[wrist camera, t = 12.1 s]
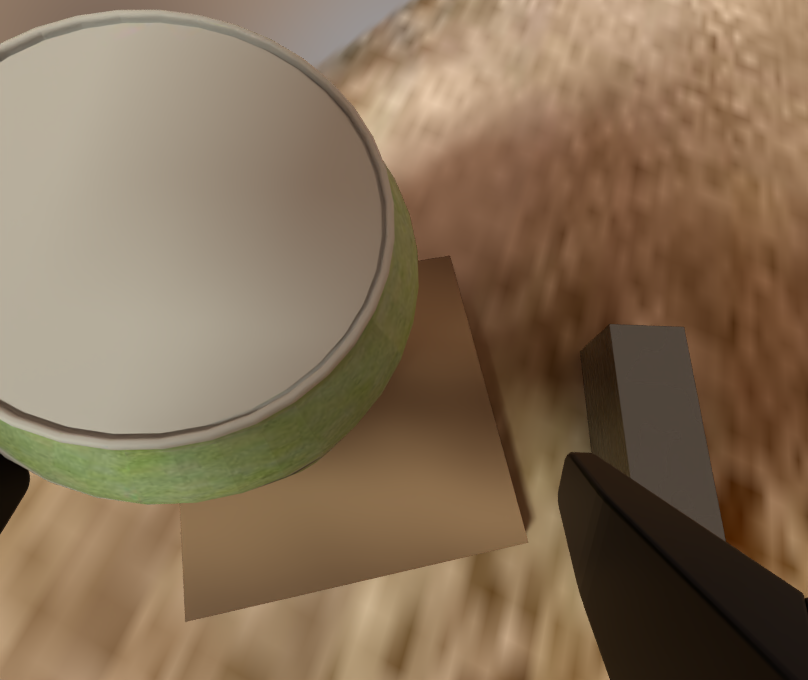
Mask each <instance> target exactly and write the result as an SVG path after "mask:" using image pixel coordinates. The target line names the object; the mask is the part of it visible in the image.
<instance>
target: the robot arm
mask: <svg viewBox="0 0 808 680" xmlns="http://www.w3.org/2000/svg"><path fill="white" fill-rule="evenodd" d="M29 482H30V474H29V470H27V469H25V468H23V467H22V466H20V465H18V464H16V463H14V462H13V461H11V460H9V459H7V458H5V457H4V456H3V455H2V454H1V453H0V534H1V532H2V531H3V529H4V527H5V526H6V524H7V523H8V521H9V519H10V518H11V516H12V514H13V513H14V511H15V510H16V508H17V506H18V505H19V503H20V501H21V500H22V498H23V496H24V495H25V493H26V491H27V489H28V487H29ZM558 505H559V510H560V514H561V518H562V522H563V527H564V531H565V535H566V539H567V543H568V548H569V552H570V556H571V560H572V565H573V569H574V573H575V577H576V581H577V585H578V589H579V593H580V596H581V599H582V602H583V605H584V608H585V611H586V614H587V616H588V619H589V622H590V625H591V628H592V630H593V633H594V636H595V639H596V642H597V645H598V647H599V650H600V653H601V656H602V659H603V661H604V664H605V667H606V670H607V673H608V675H609V678H610V680H808V598H804V595H803V593H802V592H800V591H799V590H797V589H796V588H794V587H793V586H791V585H790V584H788V583H787V582H785V581H784V580H782V579H781V578H779V577H778V576H776V575H775V574H773V573H772V572H770V571H769V570H767V569H766V568H764V567H763V566H761V565H760V564H758V563H757V562H755V561H754V560H752V559H751V558H749V557H748V556H746V555H745V554H743V553H742V552H740V551H739V550H737V549H736V548H734V547H733V546H731V545H730V544H728V543H727V542H725V541H724V540H722V539H721V538H719V537H718V536H716V535H715V534H713V533H712V532H710V531H709V530H707V529H706V528H705V527H703V526H702V525H700V524H699V523H697V522H696V521H694V520H693V519H691V518H690V517H688V516H687V515H685V514H684V513H682V512H681V511H679V510H678V509H676V508H675V507H673V506H672V505H670V504H669V503H667V502H666V501H664V500H663V499H661V498H660V497H658V496H657V495H655V494H654V493H652V492H651V491H649V490H648V489H646V488H645V487H643V486H642V485H640V484H639V483H637V482H636V481H634V480H633V479H631V478H630V477H628V476H627V475H625V474H624V473H622V472H621V471H619V470H618V469H616V468H615V467H613V466H612V465H610V464H609V463H607V462H606V461H604V460H603V459H601V458H600V457H598V456H597V455H595V454H593V453H580V452H571V453H569V454H568V455H567V456H566V458H565V462H564V467H563V471H562V476H561V481H560V486H559V491H558Z"/></svg>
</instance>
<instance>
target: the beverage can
mask: <svg viewBox="0 0 808 680" xmlns="http://www.w3.org/2000/svg"><path fill="white" fill-rule="evenodd" d="M418 288H419V284H418V255H417V247H416V242H415V237H414V233H413V228H412V224H411V219H410V215H409V212H408V210H407V207H406V205H405V202H404V200H403V197H402V195H401V193H400V190H399V188H398V185H397V183H396V181H395V179H394V177H393V175H392V174H391V172H390V171H389V169H388V168H387V166H386V164H385V163H384V161H383V160H382V157H381V155H380V152H379V150H378V148H377V145H376V143H375V140H374V138H373V136H372V134H371V133H370V131H369V130H368V128H367V126H366V125H365V123H364V122H363V120H362V119H361V117H360V115H359V114H358V112H357V111H356V109H355V108H354V106H353V105H352V104H351V103H350V102H349V101H348V100H347V99H346V98H345V96H344V95H343V94H342V93H341V92H340V91H339V90H338V89H337V88H336V86H335V85H334V84H333V83H332V82H331V81H330V80H329V79H328V78H326V77H325V76H324V75H323V74H321V73H320V72H319V71H318V70H317V69H315V68H314V67H313V66H312V65H310V64H309V63H308V62H307V61H306V60H304V59H303V58H302V57H300V56H298V55H296V54H295V53H293V52H291V51H290V50H288V49H286V48H284V47H283V46H281V45H280V44H278V43H276V42H275V41H273V40H271V39H269V38H267V37H264V36H262V35H259V34H257V33H255V32H252V31H250V30H247V29H245V28H242V27H240V26H238V25H235V24H231V23H228V22H224V21H220V20H216V19H212V18H208V17H205V16H201V15H196V14H188V13H180V12H172V11H165V10H115V11H108V12H101V13H94V14H86V15H79V16H75V17H71V18H68V19H64V20H61V21H57V22H54V23H50V24H47V25H43V26H39V27H36V28H34V29H32V30H29V31H27V32H25V33H23V34H21V35H18V36H16V37H14V38H12V39H9V40H7V41H5V42H3V43H0V453H1V454H2V455H3V456H4V457H5V458H7V459H9V460H11V461H13V462H14V463H16V464H18V465H20V466H22V467H23V468H25V469H27V470H29V471H31V472H32V473H34V474H36V475H38V476H40V477H41V478H43V479H45V480H47V481H49V482H51V483H54V484H57V485H60V486H63V487H66V488H69V489H72V490H76V491H79V492H82V493H85V494H88V495H91V496H94V497H97V498H104V499H111V500H118V501H126V502H133V503H140V504H175V503H197V502H202V501H207V500H212V499H216V498H221V497H226V496H231V495H236V494H240V493H244V492H247V491H250V490H253V489H256V488H258V487H261V486H264V485H267V484H270V483H273V482H276V481H279V480H281V479H284V478H287V477H289V476H292V475H294V474H297V473H299V472H301V471H303V470H305V469H306V468H308V467H310V466H311V465H313V464H315V463H316V462H317V461H319V460H320V459H321V458H322V457H323V456H324V455H326V454H327V453H328V452H329V451H330V450H331V449H332V448H333V447H334V446H335V445H336V444H337V443H338V442H339V441H340V440H342V439H343V438H344V437H345V436H346V435H347V434H348V433H349V432H350V431H351V430H352V429H353V428H354V427H355V426H356V425H357V424H358V422H359V421H360V420H361V419H362V417H363V416H364V415H365V414H366V413H367V411H368V410H369V409H370V408H371V407H372V405H373V404H374V403H375V402H376V400H377V399H378V398H379V397H380V396H381V394H382V393H383V391H384V389H385V387H386V385H387V384H388V382H389V380H390V378H391V377H392V375H393V373H394V371H395V369H396V368H397V366H398V364H399V362H400V360H401V358H402V355H403V352H404V349H405V346H406V343H407V340H408V337H409V334H410V331H411V328H412V326H413V321H414V315H415V308H416V301H417V295H418Z"/></svg>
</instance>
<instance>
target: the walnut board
mask: <svg viewBox="0 0 808 680" xmlns="http://www.w3.org/2000/svg"><path fill="white" fill-rule="evenodd" d="M418 284H419V288H418V295H417V301H416V308H415V315H414V321H413V326H412V328H411V331H410V334H409V337H408V340H407V343H406V346H405V349H404V352H403V355H402V358H401V360H400V362H399V364H398V366H397V368H396V369H395V371H394V373H393V375H392V377H391V378H390V380H389V382H388V384H387V385H386V387H385V389H384V391H383V393H382V394H381V396H380V397H379V398H378V399H377V400H376V402H375V403H374V404H373V405H372V407H371V408H370V409H369V410H368V411H367V413H366V414H365V415H364V416H363V417H362V419H361V420H360V421H359V422H358V424H357V425H356V426H355V427H354V428H353V429H352V430H351V431H350V432H349V433H348V434H347V435H346V436H345V437H344V438H343V439H342V440H340V441H339V442H338V443H337V444H336V445H335V446H334V447H333V448H332V449H331V450H330V451H329V452H328V453H327V454H326V455H324V456H323V457H322V458H321V459H320V460H319V461H317V462H316V463H315V464H313V465H311V466H310V467H308V468H306V469H305V470H303V471H301V472H299V473H297V474H294V475H292V476H289V477H287V478H284V479H281V480H279V481H276V482H273V483H270V484H267V485H264V486H261V487H258V488H256V489H253V490H250V491H247V492H244V493H240V494H236V495H231V496H226V497H221V498H216V499H212V500H207V501H202V502H197V503H180V521H181V542H182V562H183V583H184V604H185V622H187V621H191V620H196V619H200V618H204V617H209V616H213V615H217V614H222V613H226V612H230V611H235V610H239V609H243V608H247V607H252V606H256V605H260V604H265V603H269V602H273V601H278V600H282V599H286V598H291V597H295V596H299V595H304V594H308V593H312V592H317V591H321V590H325V589H330V588H334V587H338V586H343V585H347V584H351V583H355V582H360V581H364V580H368V579H373V578H377V577H381V576H386V575H390V574H394V573H399V572H403V571H407V570H412V569H416V568H420V567H425V566H429V565H433V564H438V563H442V562H446V561H451V560H455V559H459V558H463V557H468V556H472V555H476V554H481V553H485V552H489V551H494V550H498V549H502V548H507V547H511V546H515V545H520V544H524V543H528V539H527V536H526V532H525V528H524V525H523V521H522V517H521V514H520V510H519V506H518V503H517V499H516V495H515V492H514V488H513V484H512V481H511V477H510V473H509V470H508V466H507V462H506V459H505V455H504V451H503V448H502V444H501V440H500V437H499V433H498V429H497V426H496V422H495V419H494V415H493V411H492V408H491V404H490V400H489V397H488V393H487V389H486V386H485V382H484V378H483V375H482V371H481V367H480V364H479V360H478V356H477V353H476V349H475V345H474V342H473V338H472V334H471V331H470V327H469V323H468V320H467V316H466V312H465V309H464V305H463V302H462V298H461V294H460V291H459V287H458V283H457V280H456V276H455V272H454V269H453V265H452V261H451V258H450V256H445V257H439V258H433V259H426V260H420V261H418Z"/></svg>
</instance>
